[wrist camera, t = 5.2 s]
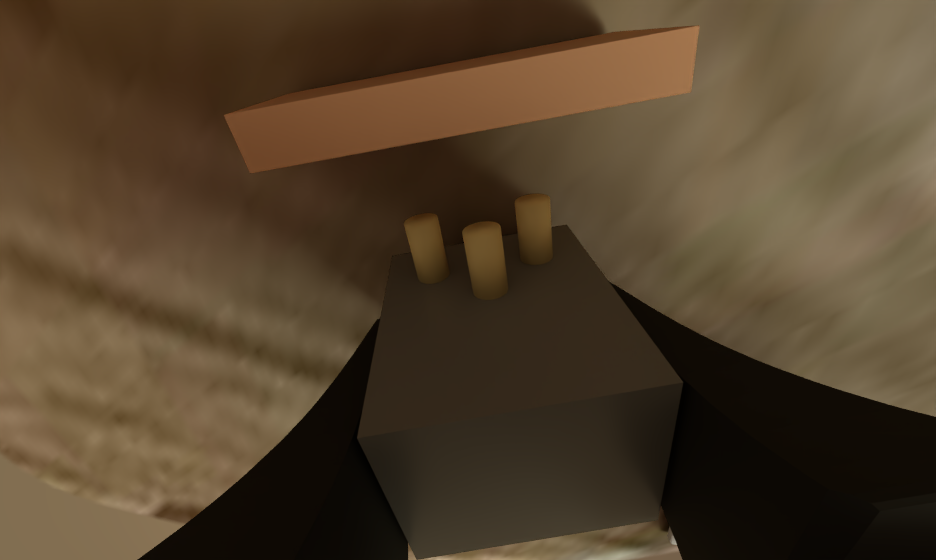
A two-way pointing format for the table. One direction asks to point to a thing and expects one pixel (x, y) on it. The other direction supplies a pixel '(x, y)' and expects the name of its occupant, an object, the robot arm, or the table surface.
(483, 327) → the plug
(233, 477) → the table surface
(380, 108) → the orange flat block
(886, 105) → the table surface
